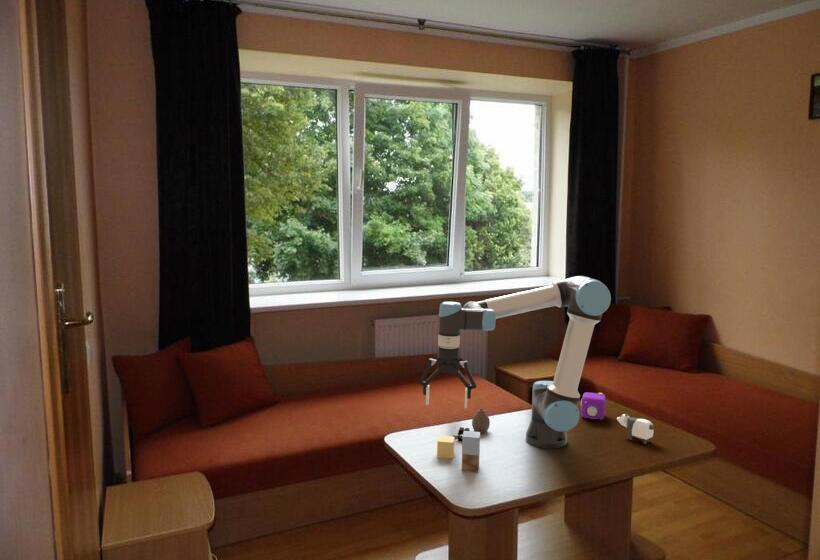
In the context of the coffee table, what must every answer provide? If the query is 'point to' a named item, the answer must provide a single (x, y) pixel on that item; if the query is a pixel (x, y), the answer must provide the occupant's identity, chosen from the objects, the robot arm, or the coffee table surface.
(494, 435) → the coffee table surface
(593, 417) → the toy camera
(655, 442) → the coffee table surface
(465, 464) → the walnut brick
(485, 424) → the vase
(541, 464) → the coffee table surface
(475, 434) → the gray brick
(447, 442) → the yellow cube
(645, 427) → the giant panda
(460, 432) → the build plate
